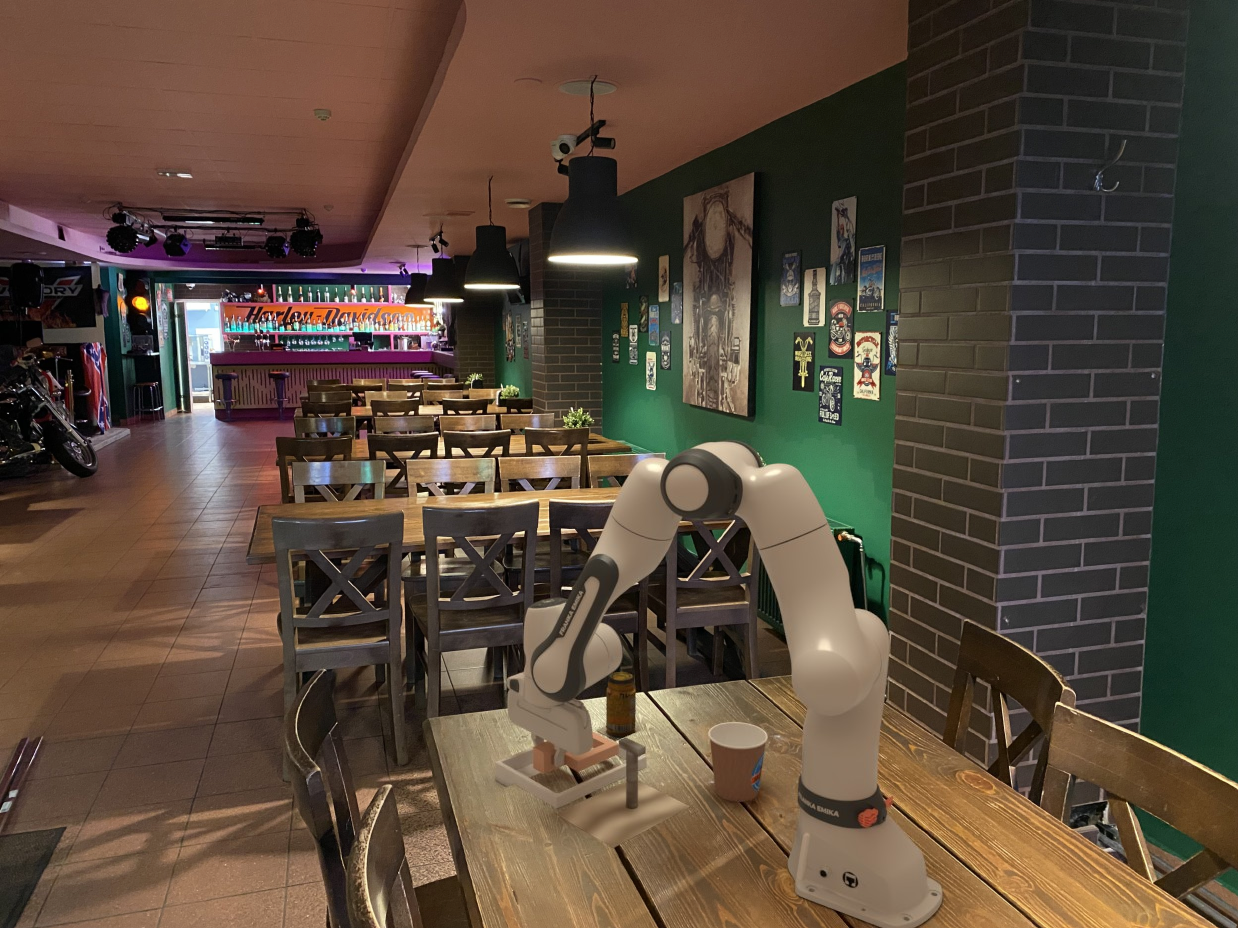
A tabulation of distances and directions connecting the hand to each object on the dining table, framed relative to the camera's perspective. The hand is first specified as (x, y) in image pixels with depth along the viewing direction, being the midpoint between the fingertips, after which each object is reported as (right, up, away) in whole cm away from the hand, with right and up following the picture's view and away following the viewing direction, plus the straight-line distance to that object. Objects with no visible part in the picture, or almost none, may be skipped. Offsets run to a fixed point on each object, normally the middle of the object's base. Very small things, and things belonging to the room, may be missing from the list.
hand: (549, 760), depth 160 cm
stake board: (+13, -6, -10) cm, 18 cm away
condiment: (+13, -2, +23) cm, 27 cm away
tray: (+4, -4, +4) cm, 7 cm away
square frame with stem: (+4, -1, +4) cm, 5 cm away
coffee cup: (+33, -6, -4) cm, 34 cm away
